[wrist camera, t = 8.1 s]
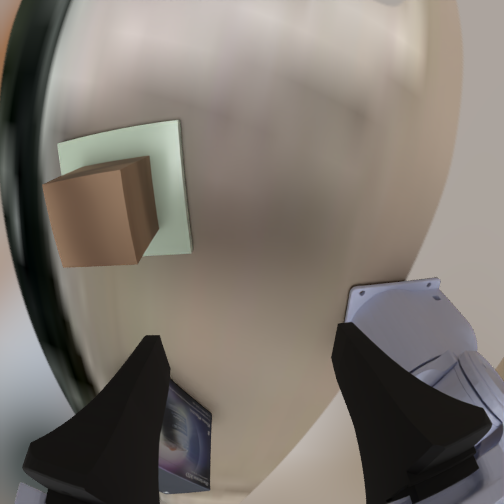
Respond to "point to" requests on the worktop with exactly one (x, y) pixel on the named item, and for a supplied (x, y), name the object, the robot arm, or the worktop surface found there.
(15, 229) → the worktop surface
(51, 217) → the walnut cube
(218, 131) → the worktop surface
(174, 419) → the small box
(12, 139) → the worktop surface
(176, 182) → the plate
